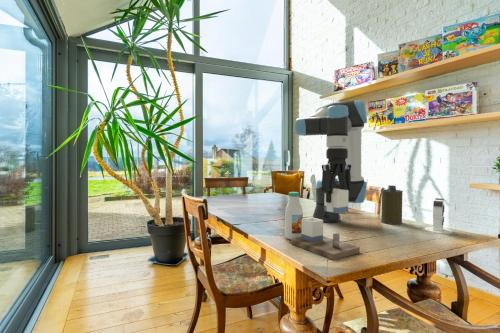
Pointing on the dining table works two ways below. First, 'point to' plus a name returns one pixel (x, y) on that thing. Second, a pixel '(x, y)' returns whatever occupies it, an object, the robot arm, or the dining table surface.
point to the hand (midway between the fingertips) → (336, 210)
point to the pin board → (327, 247)
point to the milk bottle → (293, 217)
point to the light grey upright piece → (438, 218)
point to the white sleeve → (338, 201)
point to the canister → (391, 206)
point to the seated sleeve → (312, 229)
